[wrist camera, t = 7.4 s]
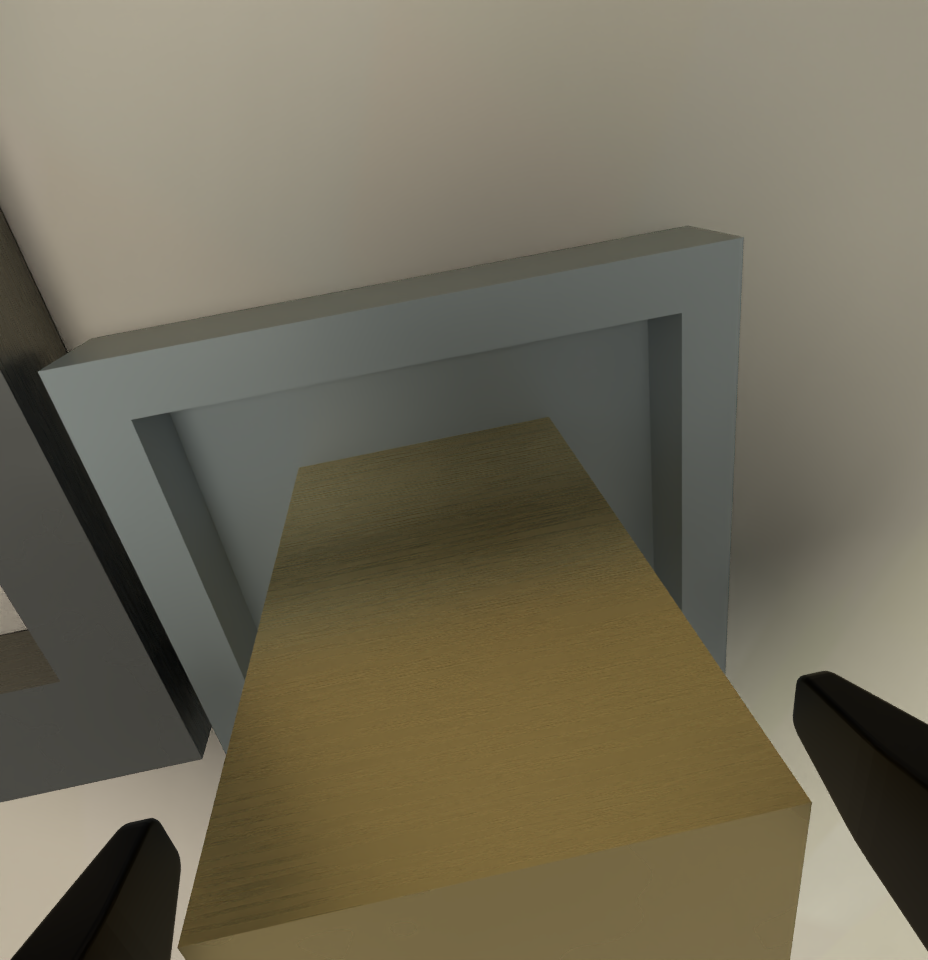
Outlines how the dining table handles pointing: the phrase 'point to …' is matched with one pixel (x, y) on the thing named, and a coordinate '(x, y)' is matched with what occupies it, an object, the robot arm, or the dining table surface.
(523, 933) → the tan rectangular block
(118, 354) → the tray
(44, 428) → the grey flat frame
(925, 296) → the dining table surface
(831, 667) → the dining table surface
